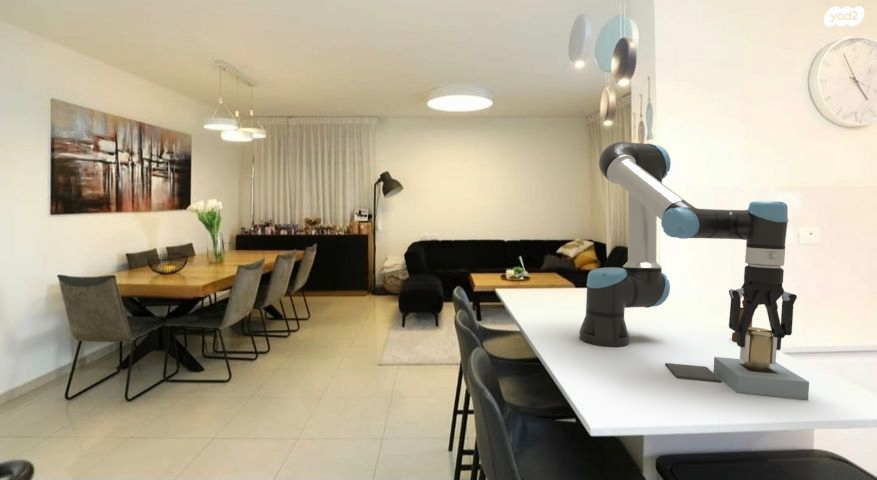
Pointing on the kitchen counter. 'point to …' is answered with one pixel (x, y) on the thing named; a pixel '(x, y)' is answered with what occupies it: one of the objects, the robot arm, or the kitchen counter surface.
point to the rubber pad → (692, 372)
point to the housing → (761, 379)
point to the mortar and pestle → (734, 335)
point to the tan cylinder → (759, 350)
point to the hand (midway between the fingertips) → (757, 361)
